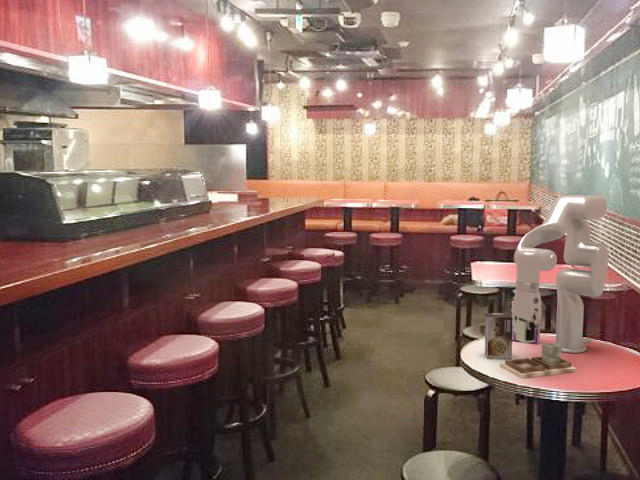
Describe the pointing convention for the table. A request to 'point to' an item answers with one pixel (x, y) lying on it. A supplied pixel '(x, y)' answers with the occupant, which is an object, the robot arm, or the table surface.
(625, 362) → the table surface
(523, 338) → the sage block
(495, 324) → the cookie box
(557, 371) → the socket base
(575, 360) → the table surface
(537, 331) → the candy bar box
